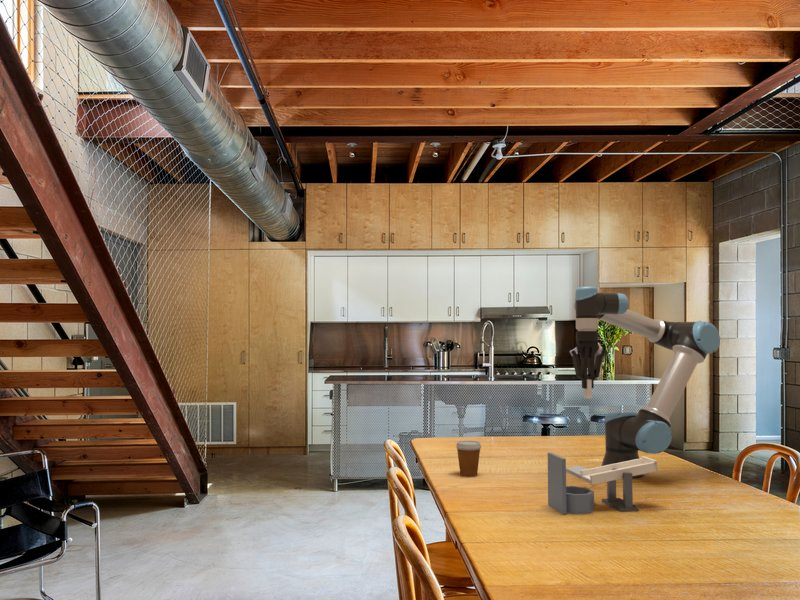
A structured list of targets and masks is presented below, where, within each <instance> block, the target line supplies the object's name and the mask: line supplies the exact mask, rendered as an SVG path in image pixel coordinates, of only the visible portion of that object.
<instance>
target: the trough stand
mask: <svg viewBox="0 0 800 600" xmlns="http://www.w3.org/2000/svg"><path fill="white" fill-rule="evenodd" d="M606 487H607V488H606V494H607V495H606V498H601V503H603V504H605V505H607V506H608V505H609V507H610V508H612V507H613V509H614V510H616V511H618V512H621V513H622V512H623V513H624V512H639V511H640V508H639V506H637V505H635V504H633V502H634V501H633V500H634V497H633V478H632V473H623V478H622V498H620V497H617V480H612V481H608V482H606Z"/></svg>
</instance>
